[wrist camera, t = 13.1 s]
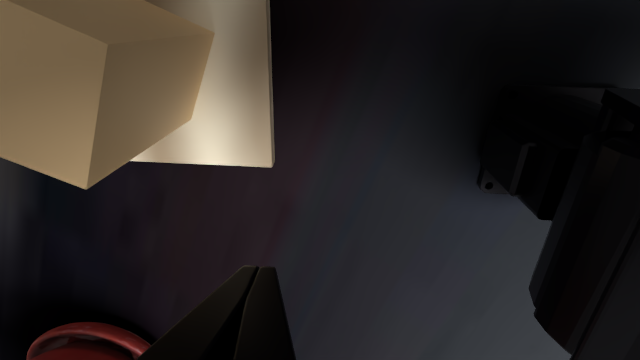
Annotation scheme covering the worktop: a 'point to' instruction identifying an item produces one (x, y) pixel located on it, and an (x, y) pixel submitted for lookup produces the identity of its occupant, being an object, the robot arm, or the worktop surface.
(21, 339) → the worktop surface
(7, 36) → the ochre block
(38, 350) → the plant pot
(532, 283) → the robot arm
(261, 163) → the birch board
